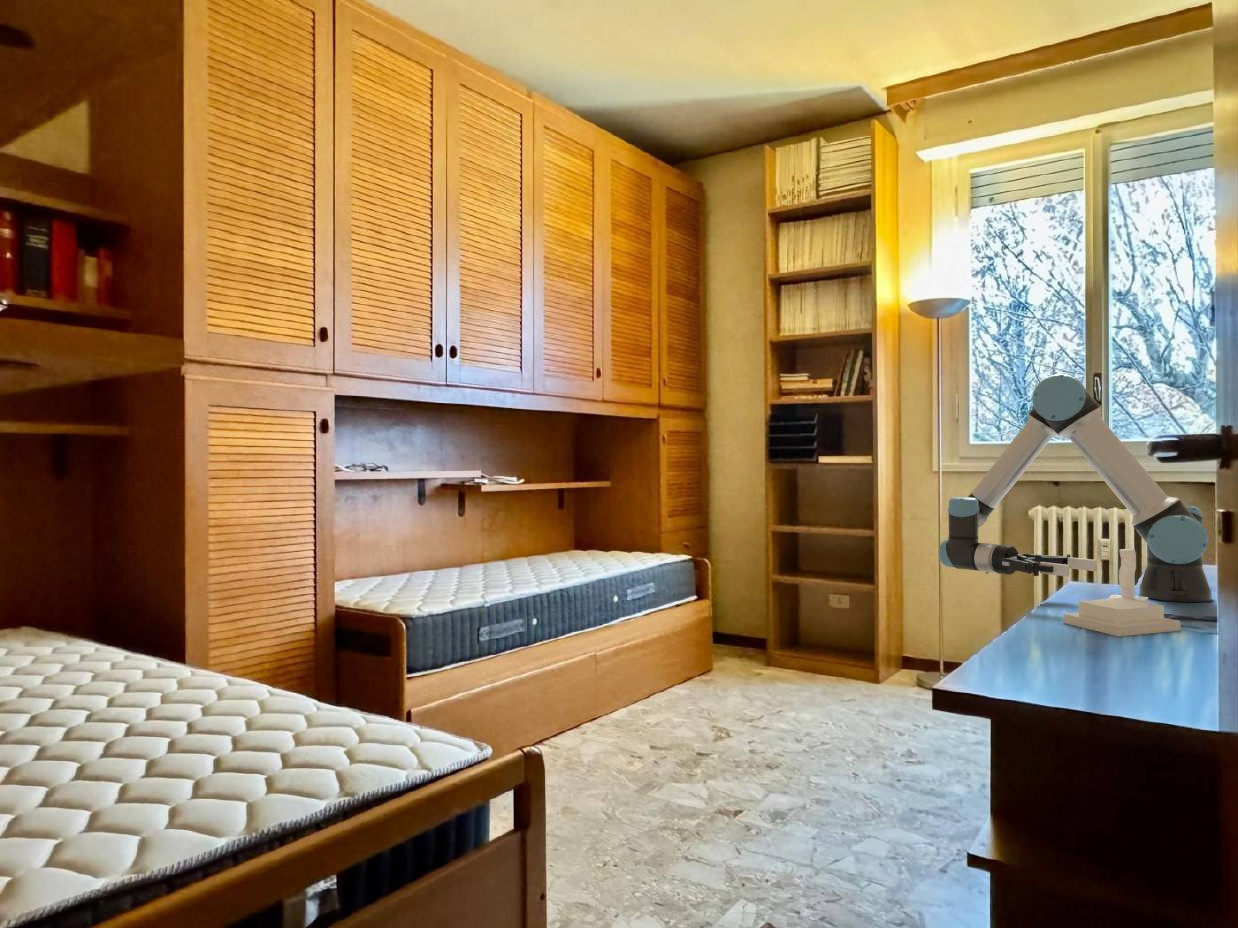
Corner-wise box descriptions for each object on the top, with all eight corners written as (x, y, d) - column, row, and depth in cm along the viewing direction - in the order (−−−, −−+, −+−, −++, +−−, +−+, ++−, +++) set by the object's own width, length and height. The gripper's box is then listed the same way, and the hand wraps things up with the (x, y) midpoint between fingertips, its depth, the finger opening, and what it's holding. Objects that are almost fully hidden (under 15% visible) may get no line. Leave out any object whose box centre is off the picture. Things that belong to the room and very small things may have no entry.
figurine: (1106, 615, 184) (1105, 550, 184) (1113, 608, 191) (1112, 545, 191) (1144, 619, 179) (1143, 551, 179) (1149, 612, 187) (1148, 547, 186)
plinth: (1122, 617, 181) (1121, 595, 181) (1180, 630, 168) (1180, 606, 167) (1064, 622, 177) (1063, 600, 177) (1119, 636, 163) (1118, 611, 163)
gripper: (1022, 568, 218) (1106, 578, 200) (970, 577, 203) (1056, 589, 186) (1022, 541, 218) (1106, 548, 200) (970, 548, 203) (1056, 556, 186)
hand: (1082, 568), depth 193 cm, fingers open, 13 cm apart
